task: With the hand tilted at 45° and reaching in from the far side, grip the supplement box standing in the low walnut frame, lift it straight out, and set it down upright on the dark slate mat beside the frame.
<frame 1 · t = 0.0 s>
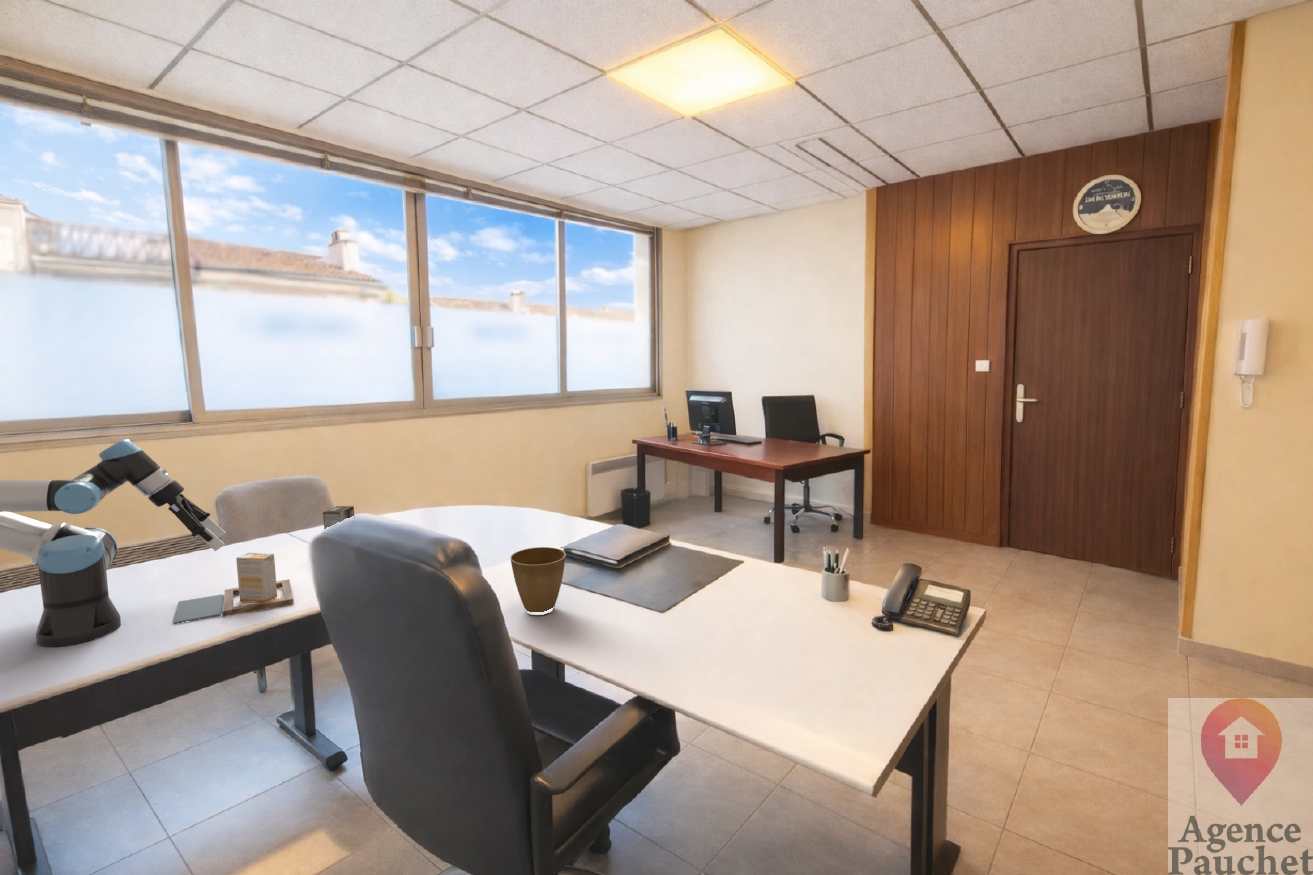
hand: (221, 541, 174), 15 cm above the table, tool tilted 35°, fingers open, 13 cm apart
mat: (199, 609, 163), on the table
coffee box: (341, 553, 213), on the table
supplement box: (258, 599, 171), resting in holder
plant pot: (538, 611, 166), on the table
holder: (258, 599, 171), on the table
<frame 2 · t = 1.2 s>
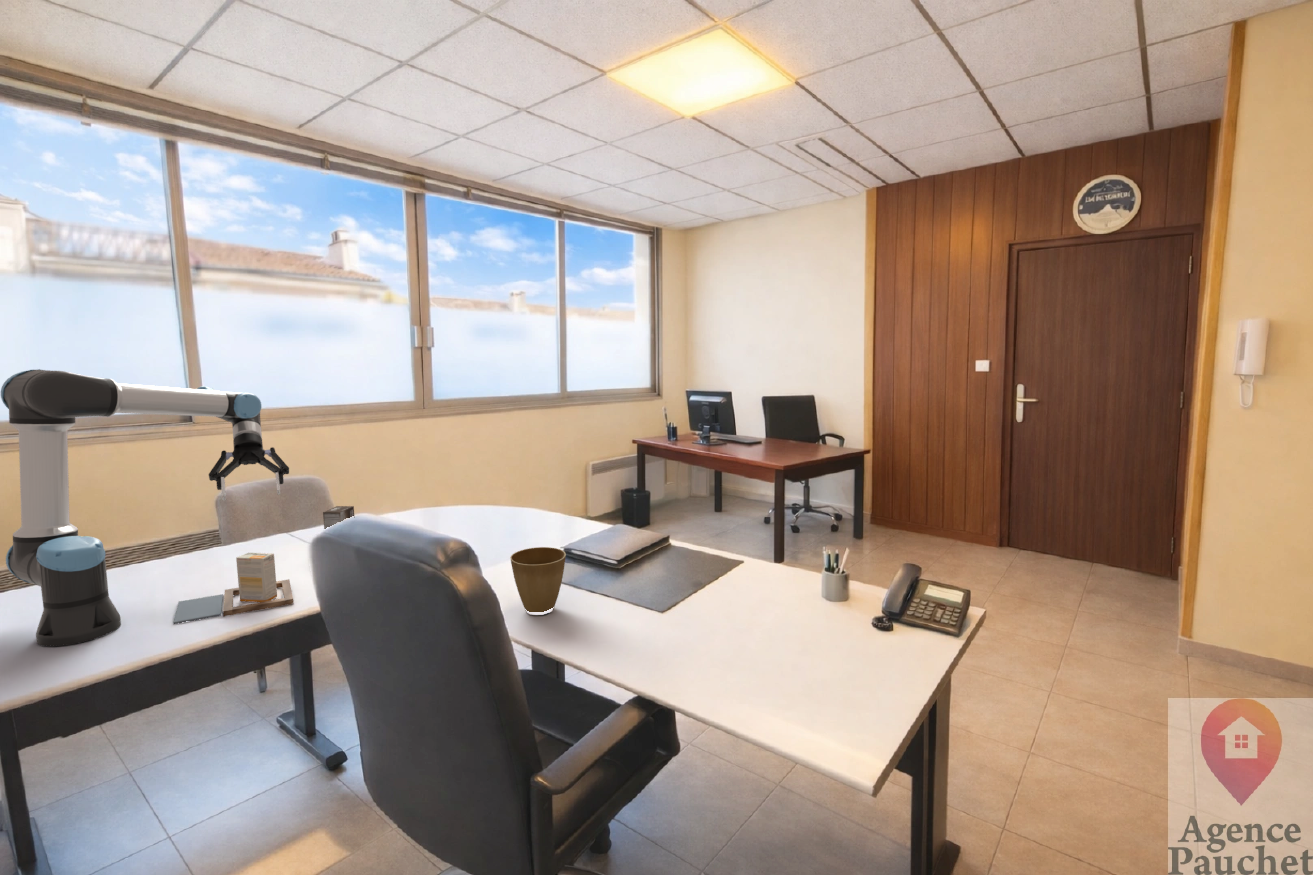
hand: (251, 495, 179), 28 cm above the table, tool tilted 45°, fingers open, 13 cm apart
nothing on the table moved.
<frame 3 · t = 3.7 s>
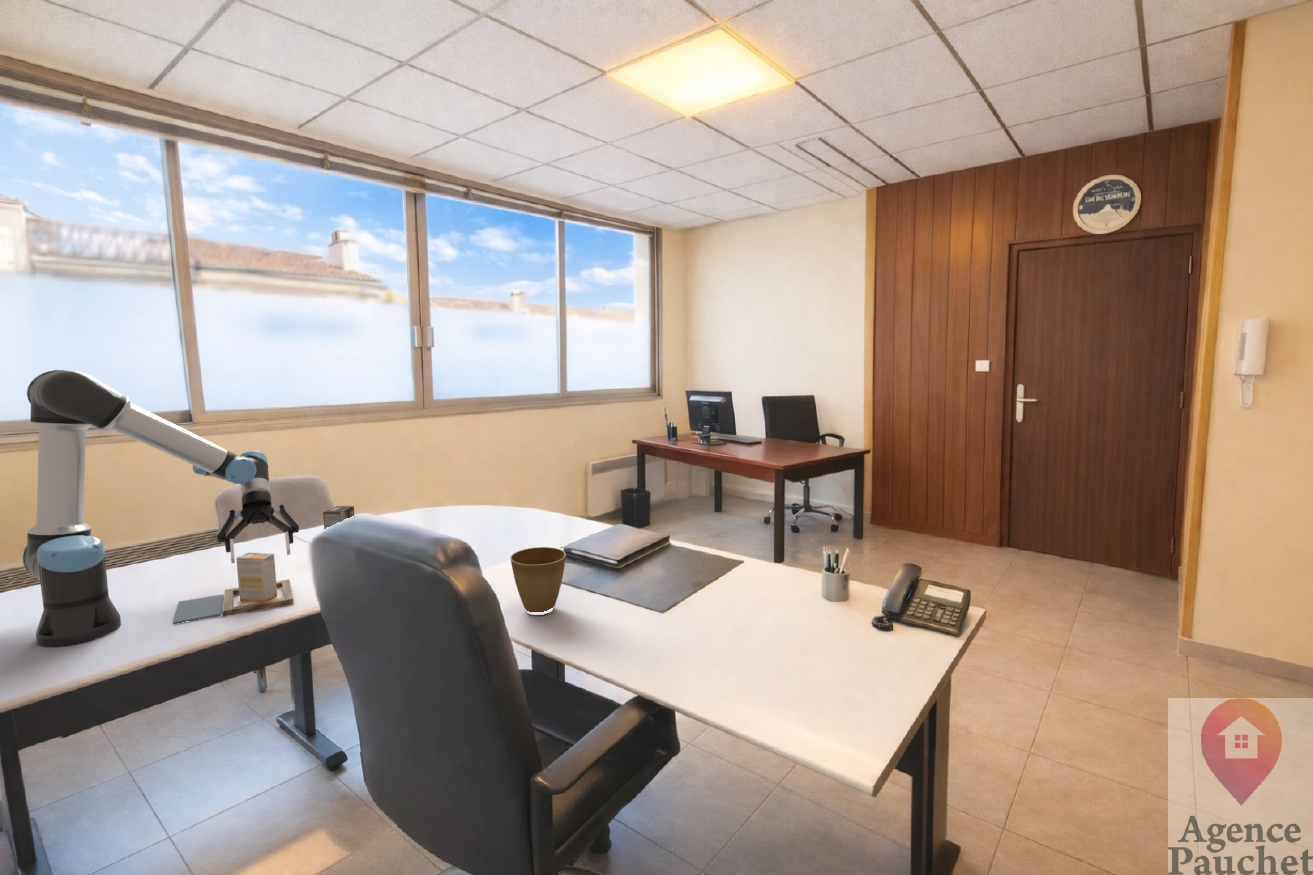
hand: (261, 556, 175), 11 cm above the table, tool tilted 45°, fingers open, 13 cm apart
nothing on the table moved.
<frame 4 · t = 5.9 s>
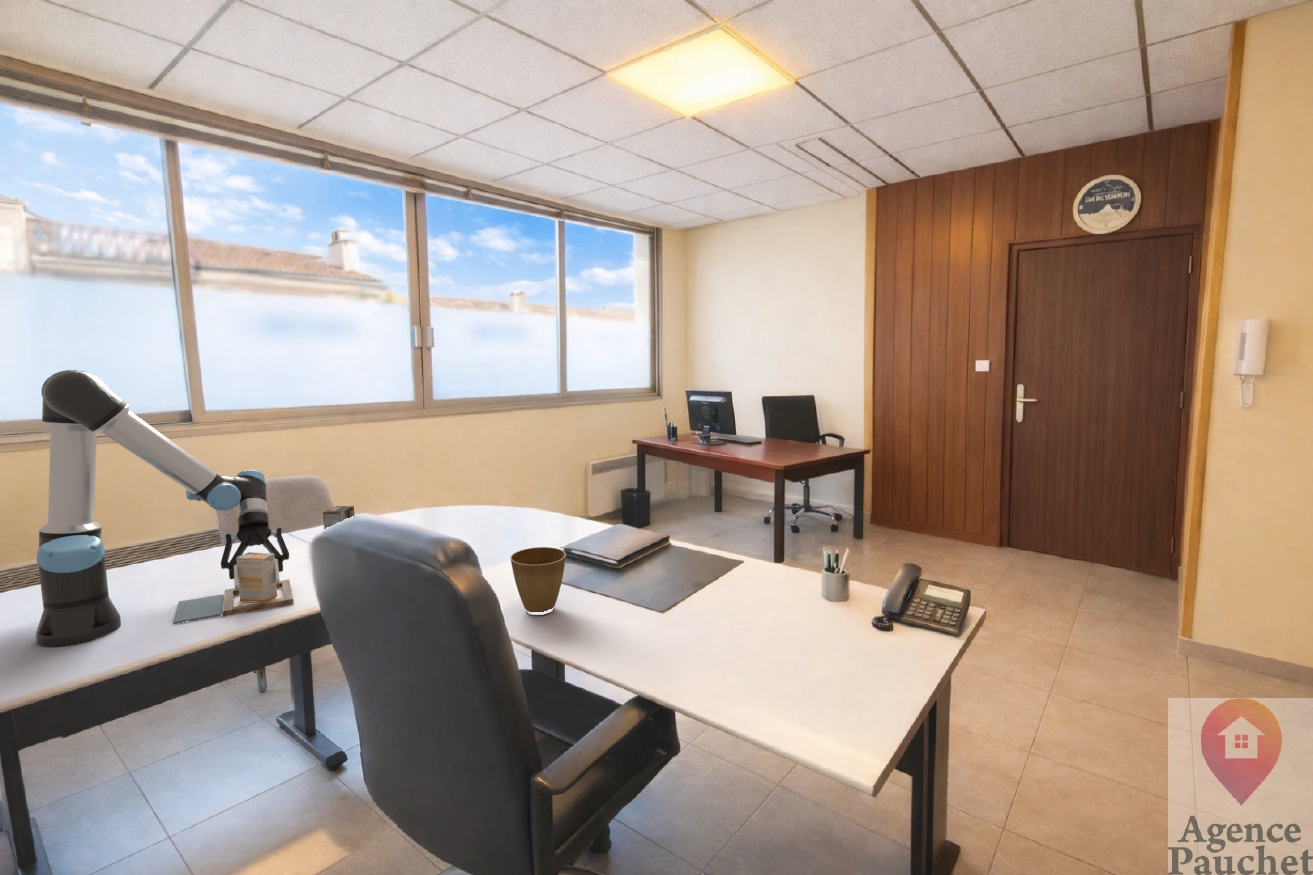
hand: (257, 584, 168), 5 cm above the table, tool tilted 45°, fingers closed on supplement box, 9 cm apart
supplement box: (258, 599, 171), resting in holder, touching gripper
everything else where it was.
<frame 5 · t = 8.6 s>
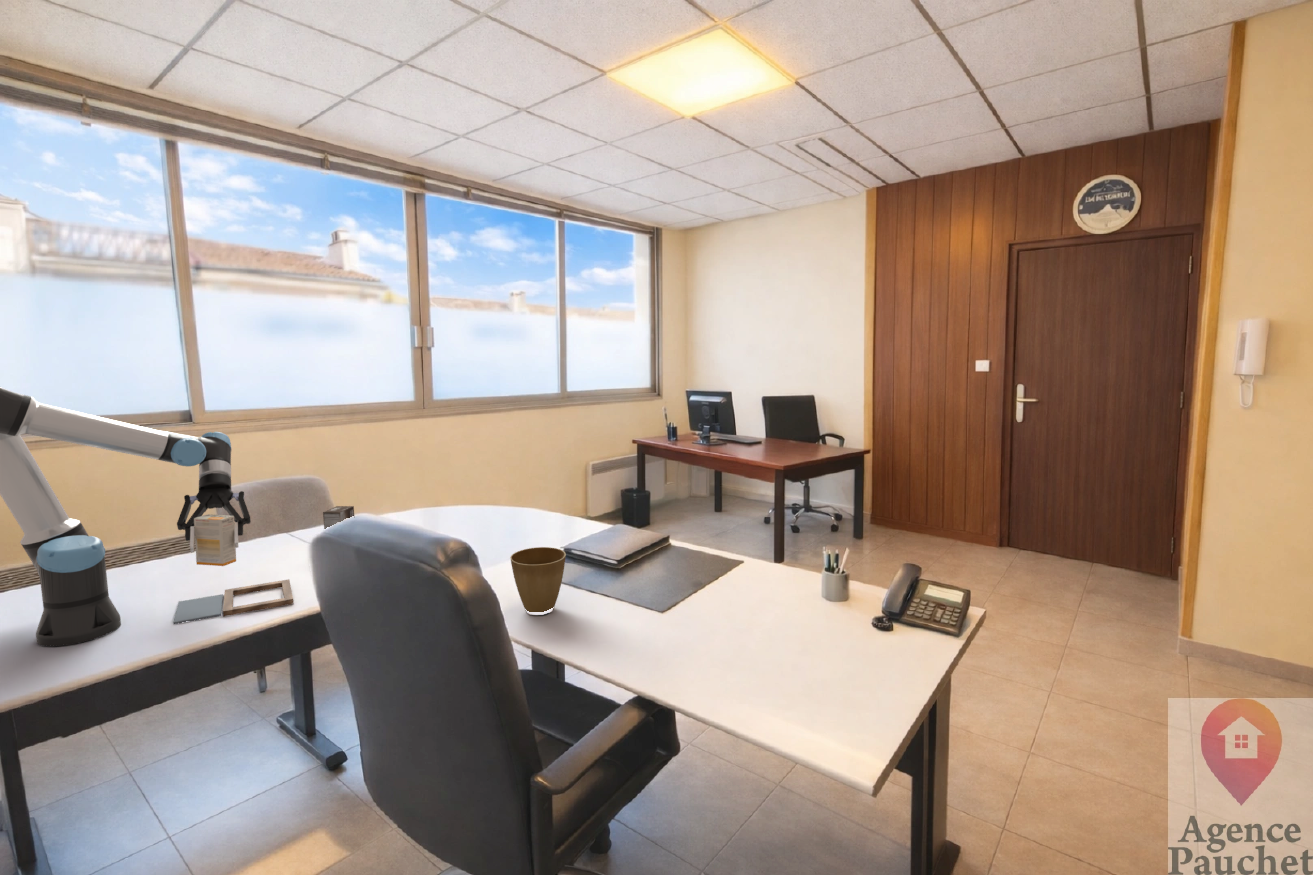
hand: (214, 547, 161), 18 cm above the table, tool tilted 45°, fingers closed on supplement box, 9 cm apart
supplement box: (216, 563, 165), point 12 cm above the table, touching gripper
everything else where it was.
when the fingers open (7 cm above the table, at t = 11.4 s): supplement box drops 1 cm, resting on mat.
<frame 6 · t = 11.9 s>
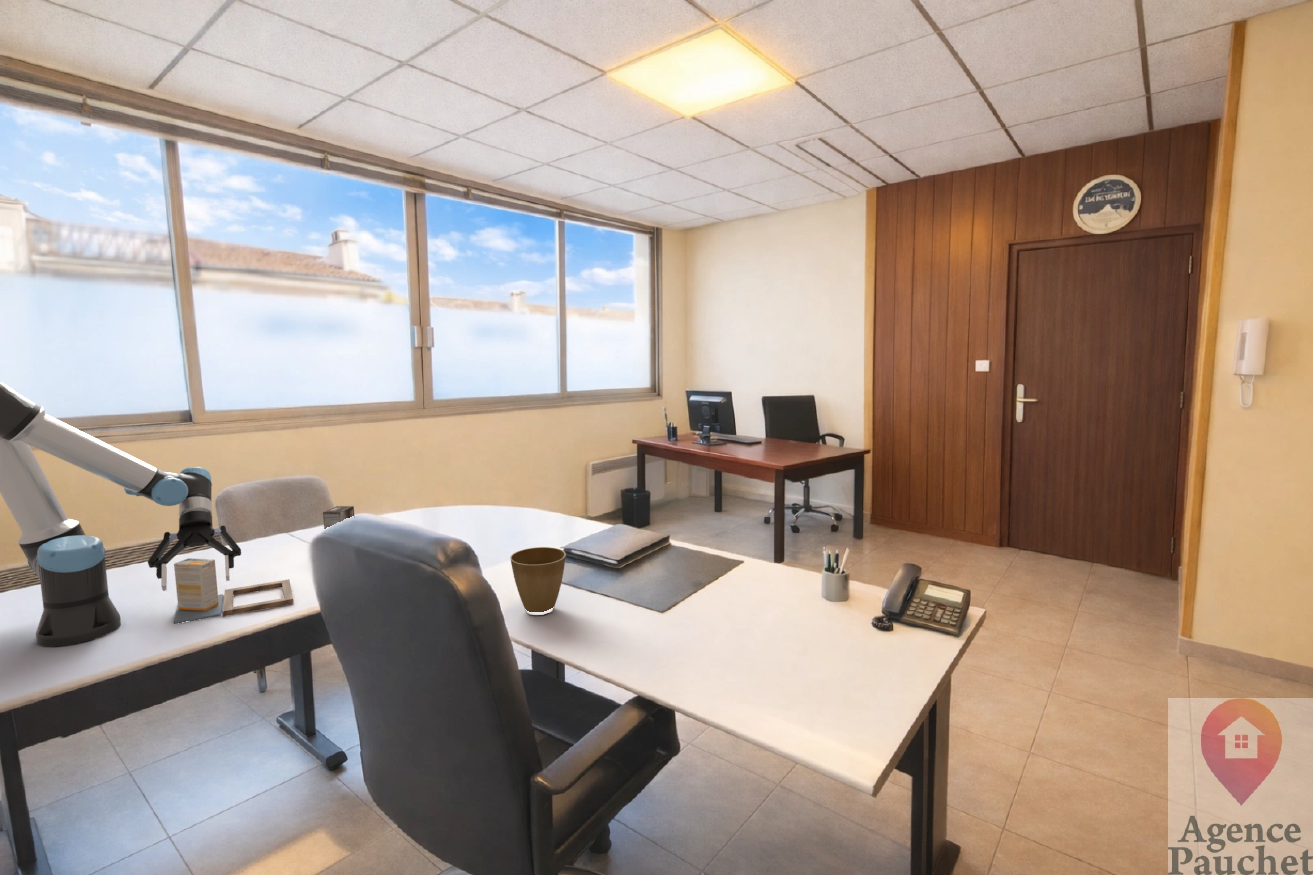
hand: (196, 583, 161), 8 cm above the table, tool tilted 45°, fingers open, 13 cm apart
supplement box: (198, 608, 163), resting on mat
everything else where it was.
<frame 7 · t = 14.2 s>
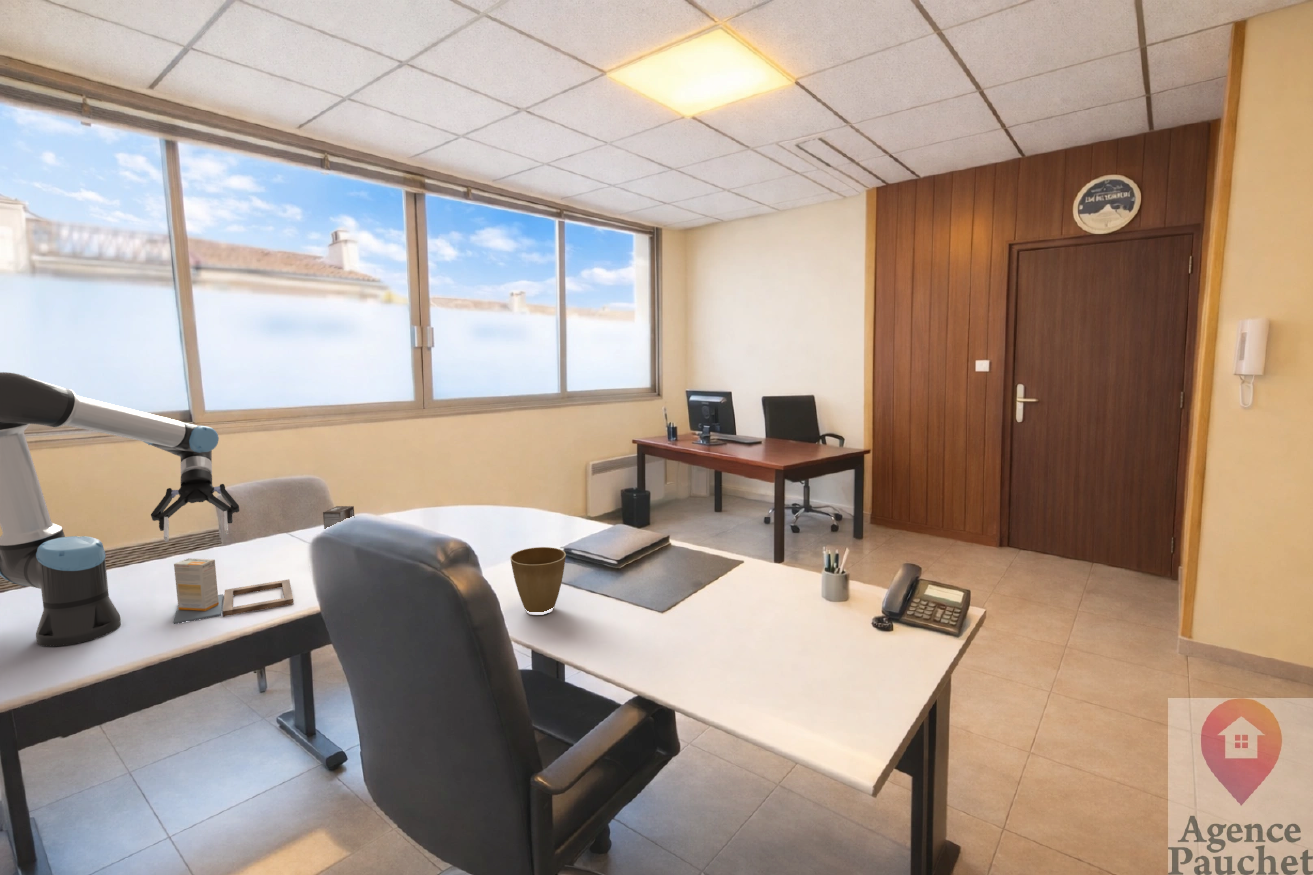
hand: (196, 535, 170), 18 cm above the table, tool tilted 45°, fingers open, 13 cm apart
nothing on the table moved.
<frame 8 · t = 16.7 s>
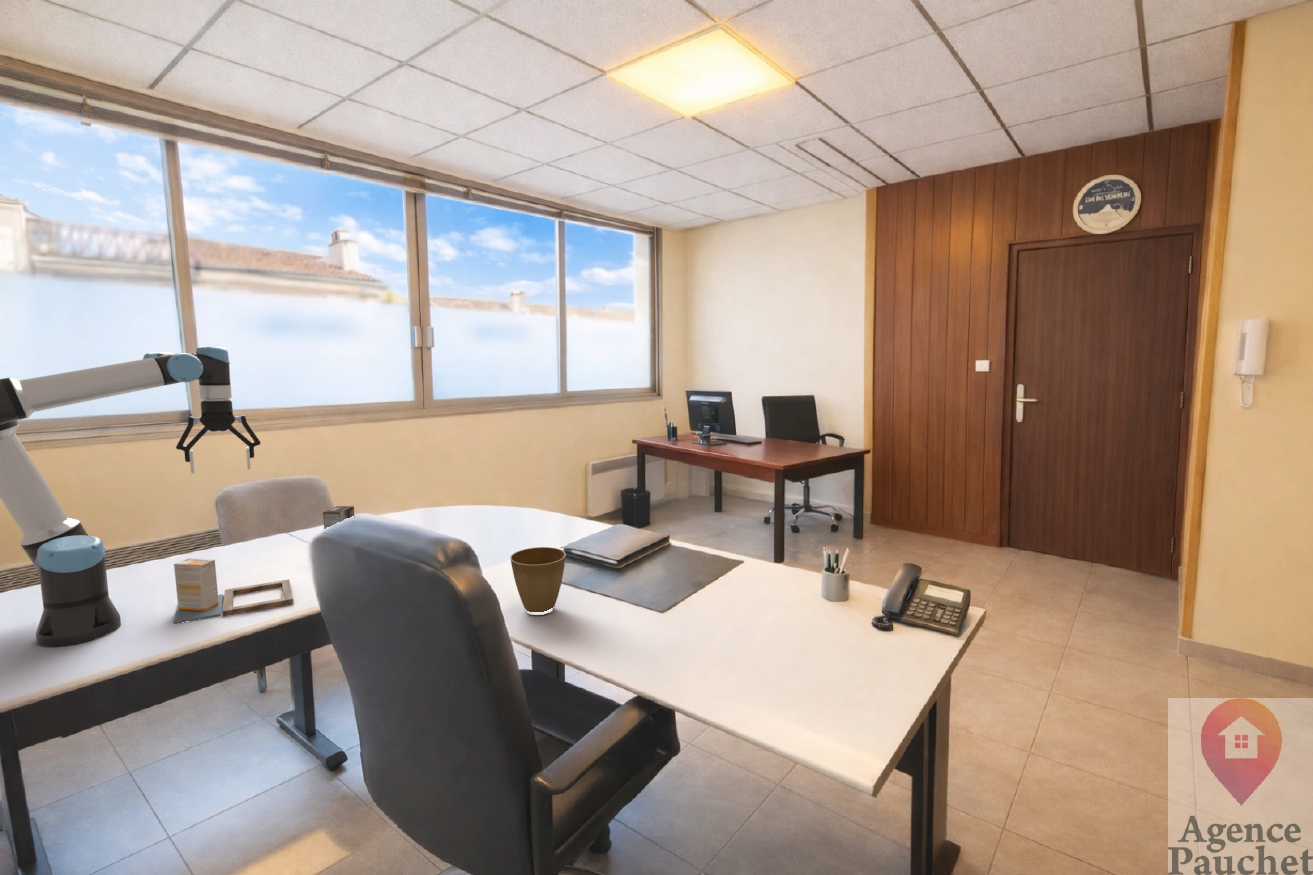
hand: (221, 470, 179), 35 cm above the table, tool pointing down, fingers open, 13 cm apart
nothing on the table moved.
at the end: supplement box 0.1 cm from the target spot, resting on mat; supplement box tilted 0°; the gripper is holding nothing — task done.
